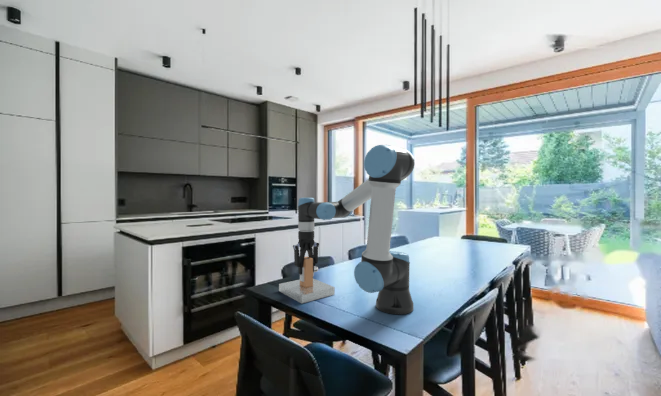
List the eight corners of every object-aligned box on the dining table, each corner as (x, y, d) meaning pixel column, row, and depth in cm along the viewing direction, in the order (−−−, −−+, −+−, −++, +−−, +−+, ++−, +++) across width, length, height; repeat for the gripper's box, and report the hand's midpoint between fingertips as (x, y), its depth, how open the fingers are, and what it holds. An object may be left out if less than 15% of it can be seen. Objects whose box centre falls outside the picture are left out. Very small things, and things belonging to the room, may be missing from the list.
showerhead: (307, 263, 168) (321, 265, 162) (307, 275, 168) (321, 278, 162) (296, 266, 161) (310, 269, 155) (296, 279, 161) (310, 283, 155)
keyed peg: (299, 287, 141) (299, 257, 141) (306, 285, 143) (306, 256, 143) (305, 289, 137) (305, 259, 137) (312, 287, 139) (312, 258, 139)
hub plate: (334, 294, 138) (334, 286, 138) (301, 303, 127) (301, 295, 127) (310, 283, 154) (310, 277, 154) (279, 291, 143) (279, 283, 142)
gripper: (316, 228, 148) (316, 275, 148) (286, 231, 137) (286, 281, 138) (325, 229, 142) (325, 278, 142) (294, 233, 131) (294, 285, 132)
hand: (306, 279), depth 140 cm, fingers open, 4 cm apart
